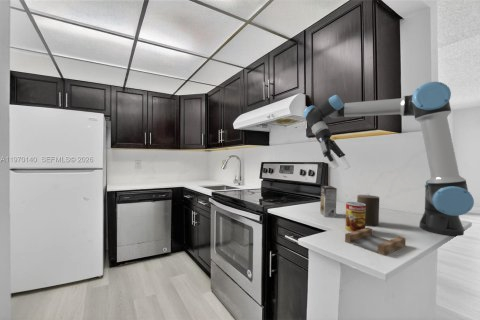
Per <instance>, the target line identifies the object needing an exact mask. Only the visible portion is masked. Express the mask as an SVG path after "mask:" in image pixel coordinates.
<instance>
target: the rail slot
mask: <svg viewBox="0 0 480 320" xmlns="http://www.w3.org/2000/svg"><path fill="white" fill-rule="evenodd" d="M344 239H345V240H344V242H345V243H348V244H350V245H353V246H356V247H359V248H362V249H364V250H366V251H367V250H368V251H371V252H374V253H375V254H379V255H382V256H386V255H388V254H391V253H394V252H395V251H397V250H400V249H401V248H403V247H406V240H407V239H406V237H402V236H397V237H395V238H392V239H386V238H383V237H380V236H377V235H373V228H370V227H365V228H364V229H361V230H357V231H354V232H350V231H349V232H347V233H345V236H344Z"/></svg>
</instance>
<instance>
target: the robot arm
mask: <svg viewBox="0 0 480 320" xmlns="http://www.w3.org/2000/svg"><path fill="white" fill-rule="evenodd" d="M451 97H452V91H451V89H450V87H449V86H448V85H447V84H445V83H443V82H440V81H428V82H426V83H423V84H421V85H420V86H419V87H417V88H416V89H415V90H414V91H413V92H412V94H410V95H403V96H402V97H401V98H391V99H389V98H387V99H377V100H367V101H357V102H345V103H343V101H342V100H341V98H340V97H339V95H338V94H334V95H332V96H331V97H329V98H328V99H326V100H325V101H323V102H322V103H320V104H318V106H315V105H310V106H307V107H306V108H305V109H304V110H303V112H302V113H303V116H304V119H305V121H306V123H307V124H308V126H309V127H310V130H311V133H312V134H313V135H314V136H315V139H316V140H317V142H318V143H319V145H320V149H321V152H322V155H323V157H324V158H326V159H328V162H329V164H330V166H331V167H332V169H334V170H335V169H337V168H338V167H339V166H340V165H339V163H338V161H337V159H336V157H335V156H334V155H336V156H337V158H338V160H339V161H340V163H341V165H342V167H343V169H344V170H348V169H349V168H351V165H350V164H349V162H348V160H347V159H346V157H345V156H346V154H345V153H344V151H343V150H342V149H341V148H340V147H339V146H338V144H337V143H336V141H335V140H334V139H331V137H332V135H333V134H332V132H331V130H330V129H329V127H328V125H327V124H326V122H325V119H327V118H328V117H329V118H331V119H340V118H348V117H349V118H350V117H367V116H368V117H369V116H370V117H371V116H387V115H388V116H389V115H400V116H402V117H408V116H409V117H412V116H413V117H414V119H415V121H417V122H419V124H420V128H421V131H422V132H421V133H422V137H423V142H424V148H425V152H426V158H427V162H428V167H429V171H430V172H429V173H430V177H431V178H430V179H427V180H426V181H425V184H424V189H425V192H424V193H425V195H424V212H423V214H422V216H421V218H420V220H419V228H420V229H422V230H424V231H427V232H430V233H434V234H440V235H445V236H452V237H453V236H454V237H455V236H456V237H458V236H463V235H465V229H464V226H463V223H462V222H461V218H460V216H463V215H465V214H468V213H469V212H470V211H471V210H472V208H473V207H474V204H475V203H474V201H475V200H474V197H473V195H472V193H471V192H470V191H469V189H468V185H467V180H466V178H465V177H462V176H461V175H460V172H459V169H458V168H459V167H458V164H457V163H458V162H457V158H456V152H455V148H454V145H453V144H454V143H453V139H452V134H451V129H450V124H449V119H448V116H450V114H451V113H452V108H451V104H450V99H451ZM332 152H333V153H334V154H333V153H332Z"/></svg>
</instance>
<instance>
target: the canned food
mask: <svg viewBox="0 0 480 320" xmlns="http://www.w3.org/2000/svg"><path fill="white" fill-rule="evenodd" d="M365 214H366V205H365V204H363V203H358V202H357V201H346V202H345V231H348V232H349V233H350V232H354V231H357V230H361V229H364V228H366V225H365Z"/></svg>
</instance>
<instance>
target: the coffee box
mask: <svg viewBox="0 0 480 320" xmlns="http://www.w3.org/2000/svg"><path fill="white" fill-rule="evenodd" d="M337 190H338V188H337V187H335V186H331V185H320V210H319V212H320V214H321V215H322V216H323V217H324V218H336V217H337V197H338V196H337V195H338V194H337V193H338V191H337Z"/></svg>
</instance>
